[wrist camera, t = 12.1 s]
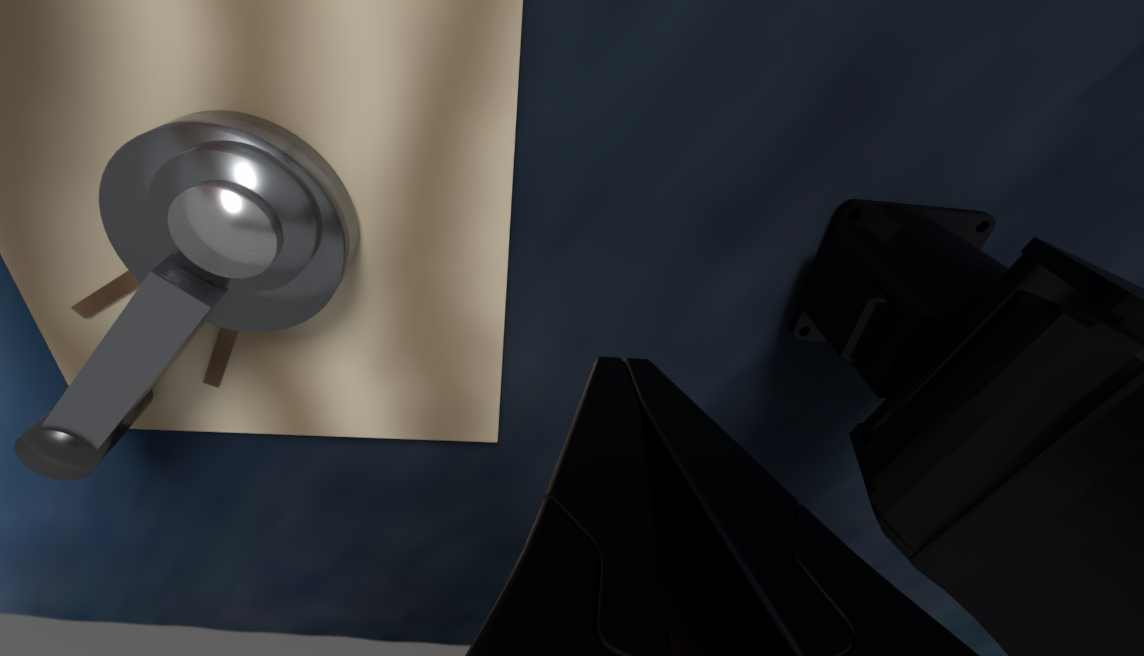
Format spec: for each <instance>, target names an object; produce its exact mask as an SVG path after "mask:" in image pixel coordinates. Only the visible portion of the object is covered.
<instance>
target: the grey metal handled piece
mask: <svg viewBox="0 0 1144 656" xmlns="http://www.w3.org/2000/svg"><path fill="white" fill-rule="evenodd" d="M99 208H100V215H101V219H102V223H103V226H104V229H105V232H106V234H107V236H108V239H109V241H110V243H111V245H112V246H113V248H114V250H115V252H116V253H117V255H118V257H119V258H120V259H121V261H122V262H123V263H124V265H125V266H126V267H127V269H128V270H129V271H130V272H131V273H132V274H133V275H134V276H135V278H136V279H137V280H138V281H139V282H141V283H142V284H141V285H140V287H139V288H138V290H137V291H136V292H135V294H134V295H133V297H132V298H131V299H130V301H129V302H128V304H127V305H126V307H125V308H124V309H123V311H122V312H121V314H120V315H119V316H118V318H117V319H116V321H115V322H114V323H113V325H112V326H111V328H110V329H109V331H108V332H107V333H106V335H105V336H104V338H103V339H102V340H101V342H100V343H99V345H98V346H97V348H96V349H95V350H94V352H93V353H92V355H91V356H90V357H89V359H88V360H87V362H86V363H85V365H84V366H83V367H82V369H81V370H80V372H79V373H78V374H77V376H76V377H75V379H74V380H73V381H72V383H71V384H70V386H69V387H68V389H67V390H66V391H65V393H64V394H63V396H62V397H61V398H60V400H59V401H58V402H57V403H56V404H55V405H54V406H53V407H52V408H51V409H50V410H49V411H48V412H47V413H46V414H45V415H44V416H42V417H41V418H40V419H39V420H38V421H37V422H36V423H35V424H34V425H33V426H32V427H31V428H30V429H28V430H27V431H26V432H25V433H24V434H23V435H22V436H21V437H20V438H19V439H18V440H17V441H16V442H15V444H14V451H15V454H16V456H17V457H18V459H19V460H20V461H21V462H22V463H23V464H24V465H25V466H27V467H28V468H30V469H31V470H33V471H35V472H37V473H39V474H41V475H44V476H47V477H50V478H54V479H59V480H78V479H82V478H84V477H86V476H88V475H89V474H90V473H91V472H92V471H93V470H94V468H95V467H96V466H97V465H98V464H99V463H100V461H101V460H102V459H103V458H104V457H105V456H106V454H107V453H108V452H109V451H110V450H111V449H112V447H113V446H114V445H115V444H116V443H117V442H118V441H119V439H120V438H121V437H122V436H123V435H124V434H125V432H126V431H127V430H128V429H129V428H130V427H131V425H132V424H133V423H134V422H135V421H136V420H137V418H138V417H139V416H140V415H141V414H142V413H143V412H144V410H145V409H146V408H147V407H148V406H149V405H150V403H151V402H152V400H153V392H152V388H153V387H154V386H155V384H156V383H157V382H158V381H159V379H160V378H161V377H162V376H163V375H164V373H165V372H166V371H167V370H168V368H169V367H170V366H171V365H172V363H173V362H174V361H175V360H176V358H177V357H178V356H179V355H180V353H181V352H182V351H183V350H184V348H185V347H186V346H187V345H188V343H189V342H190V341H191V340H192V339H193V337H194V336H195V335H196V334H197V332H198V331H199V330H200V329H201V327H202V326H203V325H204V324H205V323H208V324H211V325H214V326H217V327H222V328H226V329H230V330H237V331H244V332H270V331H277V330H282V329H287V328H290V327H293V326H296V325H299V324H301V323H303V322H305V321H307V320H309V319H310V318H312V317H313V316H315V315H316V314H317V313H318V312H320V311H321V310H322V309H323V308H324V307H325V306H326V305H327V303H328V302H329V301H330V299H331V298H332V296H333V295H334V293H335V291H336V290H337V288H338V286H339V285H340V283H341V281H342V280H343V278H344V276H345V275H346V273H347V271H348V269H349V268H350V266H351V264H352V262H353V259H354V256H355V253H356V250H357V244H358V223H357V216H356V212H355V209H354V205H353V202H352V200H351V198H350V195H349V193H348V191H347V189H346V187H345V186H344V184H343V182H342V180H341V179H340V177H339V176H338V175H337V173H336V172H335V170H334V169H333V168H332V166H331V165H330V164H329V163H328V162H327V161H326V160H325V159H324V158H323V156H322V155H321V154H320V153H318V152H317V151H316V150H315V149H314V148H313V147H312V146H310V145H309V144H308V143H307V142H305V141H304V140H303V139H301V138H300V137H298V136H297V135H296V134H294V133H292V132H290V131H289V130H287V129H285V128H284V127H282V126H280V125H278V124H275V123H273V122H271V121H269V120H266V119H263V118H260V117H257V116H254V115H251V114H246V113H241V112H236V111H227V110H208V111H200V112H195V113H190V114H187V115H185V116H182V117H179V118H177V119H174V120H172V121H170V122H168V123H165V124H163V125H161V126H159V127H156V128H154V129H152V130H150V131H147V132H145V133H143V134H141V135H138V136H137V137H135V138H133V139H132V140H130V141H128V142H127V143H125V144H124V145H123V146H122V147H121V148H120V149H119V150H117V151H116V152H115V154H114V155H113V156H112V158H111V159H110V160H109V162H108V163H107V166H106V168H105V170H104V172H103V174H102V178H101V182H100V186H99Z"/></svg>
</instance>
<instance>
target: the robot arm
mask: <svg viewBox="0 0 1144 656" xmlns="http://www.w3.org/2000/svg"><path fill="white" fill-rule="evenodd" d="M854 209H856V212H855V213H854V215H852V216H851V217H848V214H849V213H850V212H851V211H852V210H854ZM981 222H982V223H981ZM979 223H981V224H980V226H979V227H977V228H976V226H977V225H978V224H979ZM994 226H995V219H994V217H993V216H991V215H989V214H987V213H986V212H983V211H974V210H963V209H953V208H943V207H932V206H922V205H912V204H901V203H891V202H881V201H870V200H860V199H850V200H848V201H845V202H844V203H843V204H842V205H841V206H840V207H839V209H838V211H837V213H836V216H835V218H834V221H833V223H832V225H831V228H830V230H829V233H828V235H827V238H826V240H825V243H824V245H823V247H822V250H821V251H820V252H819V253H818V255H817V257H816V259H815V262H814V264H813V267H812V269H811V272H810V274H809V277H808V279H807V282H806V284H805V286H804V289H803V291H802V294H801V296H800V299H799V302H798V303H799V306H798V308H797V311H796V313H795V316H794V318H793V321H792V323H791V325H790V332H791V333H792V335H793V336H794V338H796V339H797V340H800V341H815V342H828V343H829V344H830V345H831V346H832V348H833V349H834V350H835V352H836V353H837V354H838V355H839V357H840V358H841V359H842V360H843V361H844V362H850V363H851V364H852V366H853V367H854V368H855V369H856V371H857V372H858V373H859V374H860V376H861V377H862V378H863V379H864V381H865V382H866V383H867V384H868V386H869V387H870V388H871V390H872V391H873V392H874V393H875V395H876V396H877V397H880V398H886V399H885V401H884V402H883V403H882V404H881V405H880V406H879V407H878V408H877V409H876V410H875V411H874V412H873V413H872V414H871V415H870V416H869V417H868V418H867V420H866V421H865V422H864V423H863V424H862V423H859V424H858V425H857V426H856V427H855V428H854V429H853V430H852V431H851V432H850V437H851V441H852V444H853V447H854V450H855V454H856V457H857V460H858V463H859V467H860V470H861V473H862V476H863V480H864V483H865V486H866V489H867V493H868V496H869V499H870V502H871V506H872V509H873V511H874V514H875V516H876V519H877V521H878V522H879V524H880V527H881V529H882V531H883V533H884V534H885V536H886V537H887V538H888V539H890V540H891V541H892V542H893V544H894V545H895V546H896V547H897V548H898V549H899V550H900V551H901V552H902V553H903V554H904V555H905V556H906V557H907V558H908V560H909V561H910V563H911V564H912V565H913V566H914V567H915V568H916V569H917V570H919V571H920V572H921V573H923V574H924V575H925V576H926V577H928V578H929V579H930V580H932V581H933V582H934V583H936V584H937V585H938V586H940V587H941V588H942V589H943V590H945V591H946V592H947V593H948V594H949V595H950V596H951V597H953V598H954V599H955V600H956V601H957V602H958V603H959V604H960V605H961V606H962V607H963V608H964V609H965V610H966V611H968V612H969V613H970V614H971V615H972V616H973V617H974V618H975V619H976V620H977V621H978V622H979V623H980V624H981V625H982V627H983V628H984V629H985V630H986V631H987V632H988V633H989V634H990V635H991V636H992V637H993V638H994V640H995V641H996V642H997V643H998V644H999V645H1000V646H1001V648H1002V649H1003V650H1004V651H1005V652H1006V653H1007V654H1008V656H1144V289H1143V288H1141V287H1139V286H1137V285H1135V284H1133V283H1131V282H1129V281H1127V280H1125V279H1123V278H1121V277H1118V276H1116V275H1114V274H1112V273H1110V272H1108V271H1106V270H1104V269H1102V268H1099V267H1097V266H1095V265H1093V264H1091V263H1089V262H1087V261H1085V260H1083V259H1081V258H1078V257H1076V256H1074V255H1072V254H1070V253H1068V252H1066V251H1064V250H1062V249H1059V248H1057V247H1055V246H1053V245H1051V244H1049V243H1047V242H1045V241H1043V240H1041V239H1038V238H1036V237H1034V238H1033V239H1032V240H1031V241H1030V242H1029V243H1028V244H1027V245H1026V246H1025V247H1024V248H1023V249H1022V250H1021V252H1022V253H1023V255H1022V256H1021V257H1020V258H1019V259H1018V260H1017V261H1016V262H1015V263H1014V264H1013V265H1012V266H1011V267H1010V268H1007V267H1006V266H1004V265H1003V264H1001V263H1000V262H998V261H997V260H995V259H993V258H992V257H990V256H989V255H987V254H986V253H984V252H983V251H981V249H982V247H983V245H984V243H985V242H986V240H987V238H988V237H989V235H990V233H991V232H992V230H993V228H994ZM803 327H806V328H805V329H804V330H802V331H799V330H800V329H801V328H803ZM465 656H979V655H978V654H977V653H975V652H974V651H973V650H972V649H970V648H969V647H968V646H967V645H966V644H964V643H963V642H962V641H961V640H959V639H958V638H957V637H956V636H955V635H953V634H952V633H951V632H950V631H948V630H947V629H946V628H945V627H943V626H942V625H941V624H940V623H939V622H937V621H936V620H935V619H934V618H932V617H931V616H930V615H929V614H928V613H926V612H925V611H924V610H923V609H921V608H920V607H919V606H918V605H916V604H915V603H914V602H913V601H912V600H910V599H909V598H908V597H907V596H905V595H904V594H903V593H902V592H901V591H899V590H898V589H897V588H896V587H894V586H893V585H892V584H891V583H890V582H889V581H887V580H886V579H885V578H884V577H883V576H881V575H880V574H879V573H878V572H877V571H875V570H874V569H873V568H872V567H871V566H870V565H868V564H867V563H866V562H865V561H864V560H862V559H861V558H860V557H859V556H858V555H856V554H855V553H854V552H853V551H852V550H851V549H850V548H849V547H848V546H847V545H845V544H844V543H843V542H842V541H841V540H840V539H839V538H838V537H837V536H836V535H834V534H833V533H832V532H831V531H830V530H829V529H828V528H827V527H826V526H825V525H823V524H822V523H821V522H820V521H819V520H818V519H817V518H816V517H815V516H814V515H813V514H812V513H811V512H810V511H809V510H808V509H807V508H805V507H804V506H803V505H798V500H797V499H796V498H795V497H794V496H793V495H791V494H790V493H789V492H788V491H787V490H786V489H785V488H784V487H783V486H782V485H781V484H780V483H779V482H778V481H777V480H776V479H775V478H773V477H772V476H771V475H770V474H769V473H768V472H767V471H766V470H765V469H764V468H763V467H762V466H761V465H760V464H759V463H758V462H757V461H756V460H754V459H753V458H752V457H751V456H750V455H749V454H748V453H747V452H746V451H745V450H744V449H743V448H742V447H741V446H740V445H739V444H738V443H736V442H735V441H734V440H733V439H732V438H731V437H730V436H729V435H728V434H727V433H726V432H725V431H724V430H723V429H722V428H721V427H720V426H719V425H717V424H716V423H715V422H714V421H713V420H712V419H711V418H710V417H709V416H708V415H707V414H706V413H705V412H704V411H703V410H702V409H701V408H700V407H698V406H697V405H696V404H695V403H694V402H693V401H692V400H691V399H690V398H689V397H688V396H687V395H686V394H685V393H684V392H683V391H682V390H680V389H679V388H678V387H677V386H676V385H675V384H674V383H673V382H672V381H671V380H670V379H669V378H668V377H667V376H666V375H665V374H664V373H663V372H661V371H660V370H659V369H658V368H657V367H656V366H655V365H654V364H653V363H652V362H651V361H649V360H647V359H637V358H625V359H624V360H622V359H621V358H618V357H602V356H600V357H597V359H596V361H595V363H594V366H593V369H592V371H591V374H590V377H589V379H588V382H587V385H586V387H585V390H584V393H583V395H582V398H581V401H580V403H579V406H578V409H577V411H576V414H575V417H574V419H573V422H572V425H571V427H570V430H569V433H568V435H567V438H566V441H565V443H564V446H563V449H562V451H561V454H560V457H559V459H558V462H557V465H556V468H555V470H554V473H553V476H552V478H551V481H550V484H549V486H548V489H547V492H546V494H545V499H544V500H543V501H542V504H541V507H540V509H539V512H538V515H537V517H536V520H535V523H534V525H533V527H532V530H531V532H530V534H529V537H528V539H527V542H526V544H525V546H524V549H523V551H522V553H521V555H520V557H519V559H518V561H517V563H516V565H515V567H514V569H513V571H512V572H511V574H510V576H509V578H508V580H507V582H506V584H505V586H504V588H503V590H502V592H501V593H500V595H499V597H498V599H497V601H496V602H495V604H494V606H493V608H492V609H491V611H490V613H489V615H488V616H487V618H486V620H485V622H484V624H483V625H482V627H481V629H480V631H479V632H478V634H477V636H476V638H475V639H474V641H473V643H472V645H471V647H470V648H469V650H468V652H467V654H466V655H465Z"/></svg>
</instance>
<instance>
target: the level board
mask: <svg viewBox="0 0 1144 656" xmlns="http://www.w3.org/2000/svg"><path fill="white" fill-rule="evenodd" d="M522 11H523V0H0V254H1V256H2V258H3V260H4V262H5V264H6V266H7V268H8V270H9V272H10V273H11V275H12V277H13V279H14V281H15V283H16V285H17V287H18V289H19V291H20V293H21V295H22V297H23V299H24V301H25V302H26V304H27V306H28V308H29V310H30V312H31V314H32V316H33V318H34V320H35V322H36V324H37V326H38V328H39V330H40V331H41V333H42V335H43V337H44V339H45V341H46V343H47V345H48V347H49V349H50V351H51V353H52V355H53V357H54V359H55V361H56V362H57V364H58V366H59V368H60V370H61V372H62V374H63V376H64V378H65V380H66V382H67V384H68V386H70V384H71V383H72V381H73V380H74V379H75V377H76V376H77V374H78V373H79V372H80V370H81V369H82V367H83V366H84V365H85V363H86V362H87V360H88V359H89V357H90V356H91V355H92V353H93V352H94V350H95V349H96V348H97V346H98V345H99V343H100V342H101V340H102V339H103V338H104V336H105V335H106V333H107V332H108V331H109V329H110V328H111V326H112V325H113V323H114V322H115V321H116V319H117V318H118V316H119V315H120V314H121V312H122V311H123V309H124V308H125V307H126V305H127V304H128V302H129V301H130V299H131V298H132V297H133V295H134V294H135V292H136V291H137V290H138V288H139V287H140V285H141V284H142V283H141V282H139V281H138V280H137V279H136V278H135V276H134V275H133V274H132V273H131V272H130V271H129V270H128V269H127V267H126V266H125V265H124V263H123V262H122V261H121V259H120V258H119V257H118V255H117V253H116V252H115V250H114V248H113V246H112V245H111V243H110V241H109V239H108V236H107V234H106V232H105V229H104V226H103V223H102V219H101V215H100V208H99V186H100V182H101V178H102V174H103V172H104V170H105V168H106V166H107V163H108V162H109V160H110V159H111V158H112V156H113V155H114V154H115V152H116V151H117V150H119V149H120V148H121V147H122V146H123V145H124V144H125V143H127V142H128V141H130V140H132V139H133V138H135V137H137V136H138V135H141V134H143V133H145V132H147V131H150V130H152V129H154V128H156V127H159V126H161V125H163V124H165V123H168V122H170V121H172V120H174V119H177V118H179V117H182V116H185V115H187V114H190V113H195V112H200V111H208V110H227V111H236V112H241V113H246V114H251V115H254V116H257V117H260V118H263V119H266V120H269V121H271V122H273V123H275V124H278V125H280V126H282V127H284V128H285V129H287V130H289V131H290V132H292V133H294V134H296V135H297V136H298V137H300V138H301V139H303V140H304V141H305V142H307V143H308V144H309V145H310V146H312V147H313V148H314V149H315V150H316V151H317V152H318V153H320V154H321V155H322V156H323V158H324V159H325V160H326V161H327V162H328V163H329V164H330V165H331V166H332V168H333V169H334V170H335V172H336V173H337V175H338V176H339V177H340V179H341V180H342V182H343V184H344V186H345V187H346V189H347V191H348V193H349V195H350V198H351V200H352V202H353V205H354V209H355V212H356V216H357V223H358V244H357V250H356V253H355V256H354V259H353V262H352V264H351V266H350V268H349V269H348V271H347V273H346V275H345V276H344V278H343V280H342V281H341V283H340V285H339V286H338V288H337V290H336V291H335V293H334V295H333V296H332V298H331V299H330V301H329V302H328V303H327V305H326V306H325V307H324V308H323V309H322V310H321V311H320V312H318V313H317V314H316V315H315V316H313V317H312V318H310V319H309V320H307V321H305V322H303V323H301V324H299V325H296V326H293V327H290V328H287V329H282V330H277V331H270V332H244V331H237V330H230V329H226V328H222V327H217V326H214V325H211V324H208V323H205V324H204V325H203V326H202V327H201V329H200V330H199V331H198V332H197V334H196V335H195V336H194V337H193V339H192V340H191V341H190V342H189V343H188V345H187V346H186V347H185V348H184V350H183V351H182V352H181V353H180V355H179V356H178V357H177V358H176V360H175V361H174V362H173V363H172V365H171V366H170V367H169V368H168V370H167V371H166V372H165V373H164V375H163V376H162V377H161V378H160V379H159V381H158V382H157V383H156V384H155V386H154V387H153V388H152V392H153V400H152V402H151V403H150V405H149V406H148V407H147V408H146V409H145V410H144V412H143V413H142V414H141V415H140V416H139V417H138V418H137V420H136V421H135V422H134V423H133V424H132V425H131V427H130V428H129V429H150V430H177V431H204V432H231V433H257V434H284V435H311V436H338V437H365V438H391V439H418V440H445V441H472V442H497V441H498V426H499V409H500V392H501V374H502V357H503V340H504V322H505V305H506V288H507V271H508V253H509V236H510V219H511V201H512V184H513V167H514V149H515V132H516V115H517V98H518V80H519V63H520V46H521V28H522Z"/></svg>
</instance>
